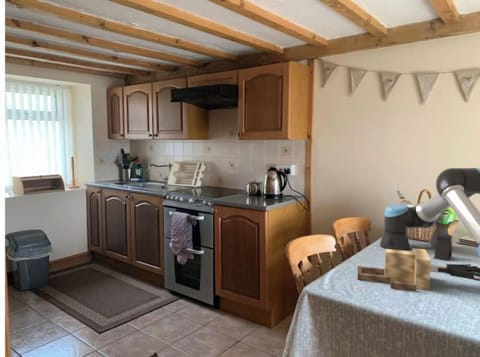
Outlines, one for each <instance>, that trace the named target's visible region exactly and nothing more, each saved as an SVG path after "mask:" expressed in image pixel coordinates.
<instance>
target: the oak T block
mask: <svg viewBox="0 0 480 357" xmlns="http://www.w3.org/2000/svg"><path fill="white" fill-rule="evenodd" d="M384 253H385V256H384V269H385V272H384V275H383V276H391V277H394V280H395V282H403V283H412V284H416V290H423V291H430V282H431V272H430V269H431V264H432V260H431V257H430V256H429V254H428V252H427V250H426V249H423V248H414V247H413V248H412V251H410V250H403V251H401V250H391V249H386V248H385V252H384Z"/></svg>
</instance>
